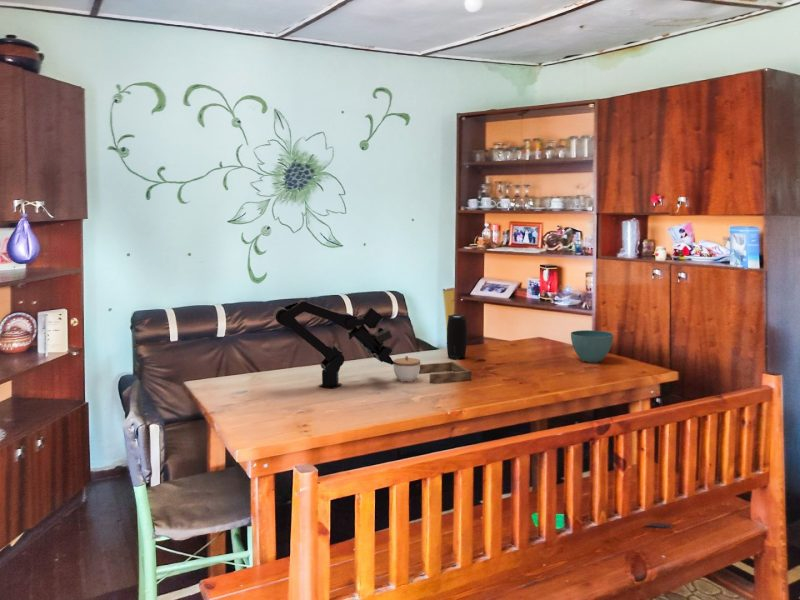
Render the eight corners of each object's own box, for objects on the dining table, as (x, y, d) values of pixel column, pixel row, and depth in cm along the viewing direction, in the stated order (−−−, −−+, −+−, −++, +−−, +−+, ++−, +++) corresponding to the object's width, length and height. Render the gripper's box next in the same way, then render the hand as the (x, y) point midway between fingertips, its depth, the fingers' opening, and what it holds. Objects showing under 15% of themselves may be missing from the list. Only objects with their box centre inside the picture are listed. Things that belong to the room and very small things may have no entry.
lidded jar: (421, 376, 288) (421, 353, 287) (419, 383, 277) (419, 359, 276) (394, 376, 289) (394, 353, 288) (391, 382, 278) (391, 359, 277)
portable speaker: (453, 355, 330) (454, 313, 327) (470, 357, 324) (471, 315, 322) (442, 358, 323) (443, 315, 321) (459, 360, 317) (460, 317, 315)
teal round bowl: (561, 358, 322) (562, 331, 321) (593, 355, 330) (594, 328, 329) (588, 366, 306) (589, 338, 305) (621, 362, 314) (622, 335, 312)
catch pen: (430, 383, 277) (430, 374, 276) (414, 373, 294) (414, 365, 293) (471, 380, 282) (471, 371, 282) (452, 370, 299) (452, 362, 299)
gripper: (386, 326, 268) (414, 352, 273) (372, 318, 285) (398, 344, 290) (367, 348, 266) (395, 374, 271) (353, 339, 284) (380, 364, 289)
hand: (392, 363), depth 280 cm, fingers closed
